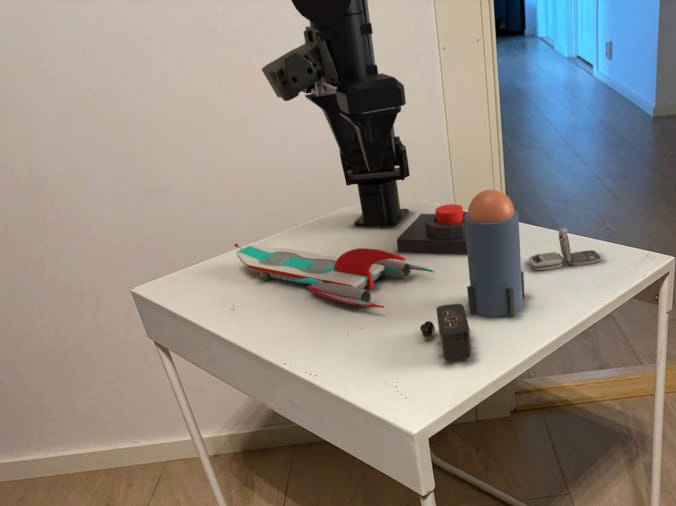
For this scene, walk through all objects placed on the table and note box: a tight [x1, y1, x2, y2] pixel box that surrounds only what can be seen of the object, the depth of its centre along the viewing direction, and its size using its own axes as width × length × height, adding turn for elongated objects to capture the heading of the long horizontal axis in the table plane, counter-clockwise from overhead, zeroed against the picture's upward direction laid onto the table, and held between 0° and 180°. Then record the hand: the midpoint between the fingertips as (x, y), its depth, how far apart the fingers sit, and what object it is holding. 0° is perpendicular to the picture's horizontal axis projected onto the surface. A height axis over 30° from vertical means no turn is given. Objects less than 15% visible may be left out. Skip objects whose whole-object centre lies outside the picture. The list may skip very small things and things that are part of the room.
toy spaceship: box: [234, 243, 435, 309], centre depth 88 cm, size 27×11×5 cm, turn 64°
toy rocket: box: [464, 189, 526, 318], centre depth 76 cm, size 7×7×13 cm
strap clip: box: [528, 227, 601, 271], centre depth 87 cm, size 8×3×4 cm, turn 100°
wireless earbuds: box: [419, 303, 472, 363], centre depth 71 cm, size 5×7×3 cm, turn 7°
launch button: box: [435, 203, 464, 225], centre depth 94 cm, size 4×4×2 cm
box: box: [396, 210, 468, 255], centre depth 97 cm, size 10×10×4 cm
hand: (359, 163), depth 83 cm, fingers open, 9 cm apart
